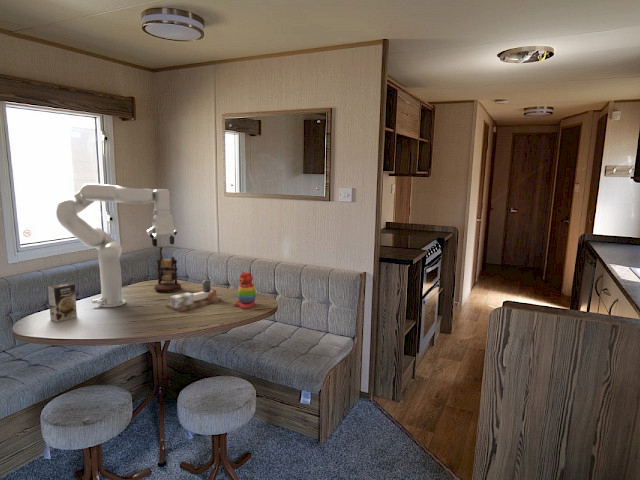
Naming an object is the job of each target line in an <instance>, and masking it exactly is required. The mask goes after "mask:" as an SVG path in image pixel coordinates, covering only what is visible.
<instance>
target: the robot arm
mask: <svg viewBox="0 0 640 480" xmlns="http://www.w3.org/2000/svg"><path fill="white" fill-rule="evenodd" d="M170 200H171V199H170V191H169V189H166V188H155V189H153V188H131V187H130V188H129V187H125V186H120V185H116V184H114V185H113V184H101V183H93V182H90V183H89V182H88V183H84V184H83V185H82V186H81V187H80V190H78V191H77V192H76V193H75V194H73V195H72V196H70V197H66V198H63V200H60V201H59V203H58V205H57V207H56V218H57V220H58V222H59V223H60V225H61V226H62V227H63V228H64V229H65V230H67V231H68V232H70V234H71V235H72V236H74V237H75V238H76V239H78V240H79V241H80V242H81V243H82V244H83V245H84V246H86V247H87V248H90V249H94V248H95V249H96V250H97V251H98V254H97V256H98V257H97V258H98V264H99V275H100V276H99V277H100V288H101V289H100V291H101V293H100V294H101V295H100V296H99V297H98V298H96V299H92V300H91V303H92V304H97V305H98V306H99V307H101V308H114V307H115V308H116V307H120V306H124V305H125V304H126V302H127V301H126V299H124V298H123V287H122V286H123V285H122V271H121V261H120V257H121V255H122V253H123V249H122V246H121V244H120V243H119V242H118V241H117V240H115V239H114V238H113V237H112V236H111V235H110V234H108V233H107V232H106V231H105V230H104V229H102V228H100V227H94V226H91V225H90V224H89V223H88V222H86V221H85V220H84V219H82V218H81V217H80V216H79V215H78V214H79V213H81V212H82V211H84V210H85V209H86V208H88V207H89V206H91V205H92V204H93V203H95V202H105V203H106V202H109V203H118V204H119V203H121V204H122V203H124V204H135V205H138V204H139V205H147V204H150V203H153V205H154V207H153V208H154V210H153V211H152V215H153V219H152V225H151V226H152V227H150V228H149V229H147V230H146V233H147V235H148V236H149V237H150V239H151V244H152V247H158V239H157V237H158V236H165V235H169V244H170V245H175V237H176V235H177V234H178V231H179V228H178V227H177V226H174V220H173V216H172V214H171V210H170V209H171V207H170V206H171V205H170V202H171V201H170Z"/></svg>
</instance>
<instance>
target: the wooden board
mask: <svg viewBox="0 0 640 480" xmlns="http://www.w3.org/2000/svg"><path fill="white" fill-rule="evenodd" d="M211 290H212V291H213V293H210V294H208V297H207V298H203V299H199V300H195V301H193V293H191V292H188V291H187V292H184V293H180V294H175V295H170V297H169V298H170V303H167V304H165V307H166V308H169V309H170V310H173V311H176V312H178V313H181V312H183V311H184V312H185V311H187V310H192V309H196V308H199V307H204V306H207V305H210V304H215V303H218V302H221V301H222V298H219V297H217V289H214V288H211Z"/></svg>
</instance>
